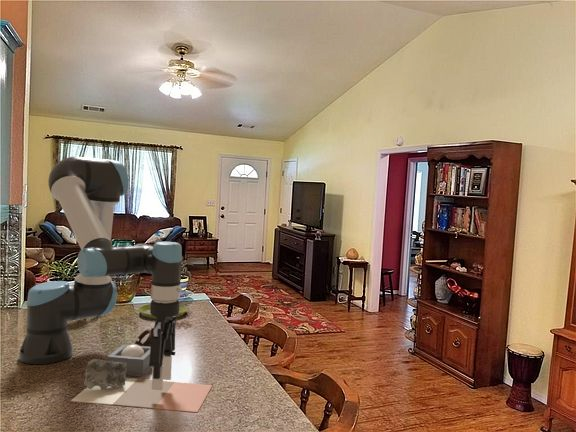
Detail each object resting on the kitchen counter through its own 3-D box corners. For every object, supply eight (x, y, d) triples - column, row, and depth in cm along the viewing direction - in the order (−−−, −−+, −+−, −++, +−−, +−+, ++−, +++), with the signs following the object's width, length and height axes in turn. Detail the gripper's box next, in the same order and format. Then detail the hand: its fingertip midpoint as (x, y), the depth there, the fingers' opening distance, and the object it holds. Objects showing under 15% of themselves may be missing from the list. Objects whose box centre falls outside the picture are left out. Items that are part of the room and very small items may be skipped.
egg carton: (81, 388, 119) (84, 380, 117) (86, 364, 125) (89, 355, 123) (122, 392, 124) (126, 384, 122) (125, 369, 129) (129, 360, 127)
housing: (106, 373, 133) (107, 356, 133) (122, 359, 144) (123, 344, 144) (142, 376, 133) (143, 359, 132) (155, 362, 144) (156, 347, 143)
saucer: (180, 323, 188) (180, 316, 187) (130, 320, 188) (131, 313, 188) (191, 311, 208) (191, 304, 208) (147, 308, 208) (147, 301, 208)
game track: (70, 401, 115) (70, 400, 115) (100, 376, 131) (100, 375, 131) (197, 412, 113) (197, 411, 113) (212, 385, 129) (212, 385, 129)
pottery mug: (164, 359, 150) (147, 345, 146) (144, 365, 154) (127, 352, 150) (175, 330, 159) (160, 316, 155) (157, 337, 163) (141, 323, 159)
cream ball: (116, 370, 135) (117, 347, 135) (125, 362, 142) (126, 340, 142) (138, 372, 135) (139, 349, 134) (147, 364, 142) (148, 342, 141)
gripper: (167, 309, 111) (163, 401, 112) (189, 293, 130) (185, 371, 131) (137, 307, 111) (133, 398, 112) (163, 291, 130) (160, 369, 131)
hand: (161, 383), depth 121 cm, fingers open, 6 cm apart
